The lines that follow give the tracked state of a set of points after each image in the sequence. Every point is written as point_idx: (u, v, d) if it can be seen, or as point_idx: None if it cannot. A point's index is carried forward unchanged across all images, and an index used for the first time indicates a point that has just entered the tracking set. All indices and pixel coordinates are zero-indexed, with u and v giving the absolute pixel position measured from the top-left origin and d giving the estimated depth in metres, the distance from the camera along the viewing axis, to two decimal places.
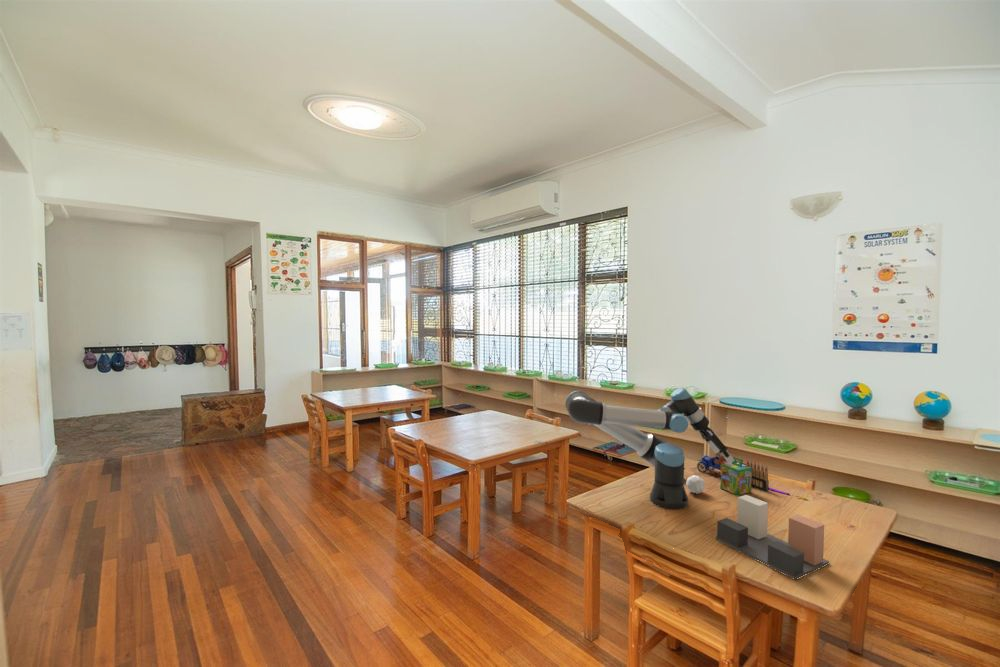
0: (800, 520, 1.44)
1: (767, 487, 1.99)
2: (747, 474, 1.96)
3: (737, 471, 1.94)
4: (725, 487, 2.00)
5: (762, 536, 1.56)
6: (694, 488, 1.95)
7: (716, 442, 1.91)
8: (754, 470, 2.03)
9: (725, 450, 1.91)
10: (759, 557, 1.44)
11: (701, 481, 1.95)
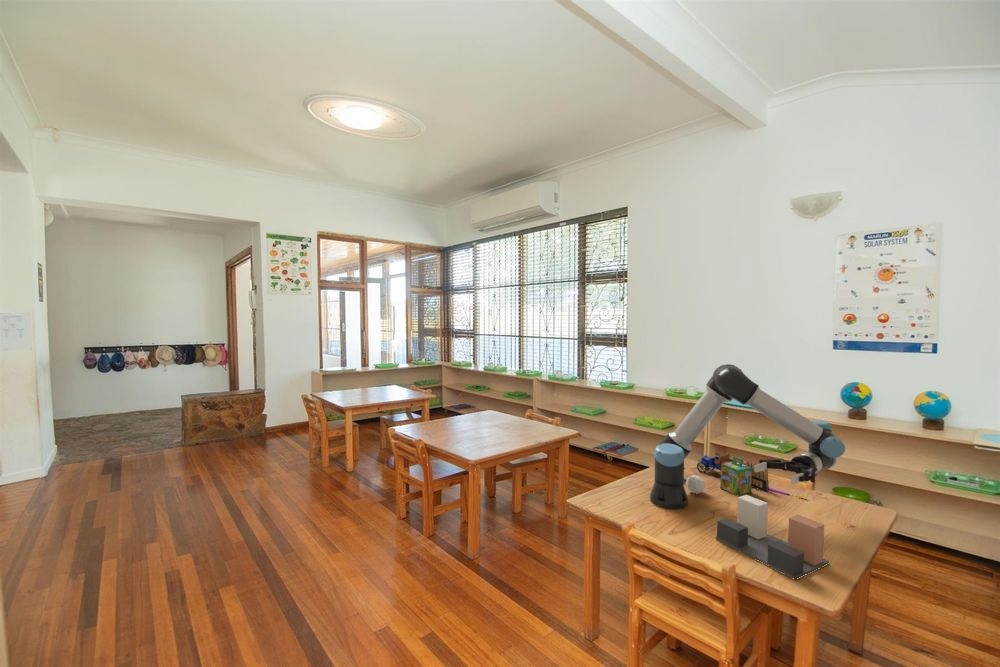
0: (800, 520, 1.44)
1: (767, 487, 1.99)
2: (747, 474, 1.96)
3: (737, 471, 1.94)
4: (725, 487, 2.00)
5: (762, 536, 1.56)
6: (694, 488, 1.95)
7: (815, 474, 1.62)
8: None
9: (807, 479, 1.60)
10: (759, 557, 1.44)
11: (701, 481, 1.95)
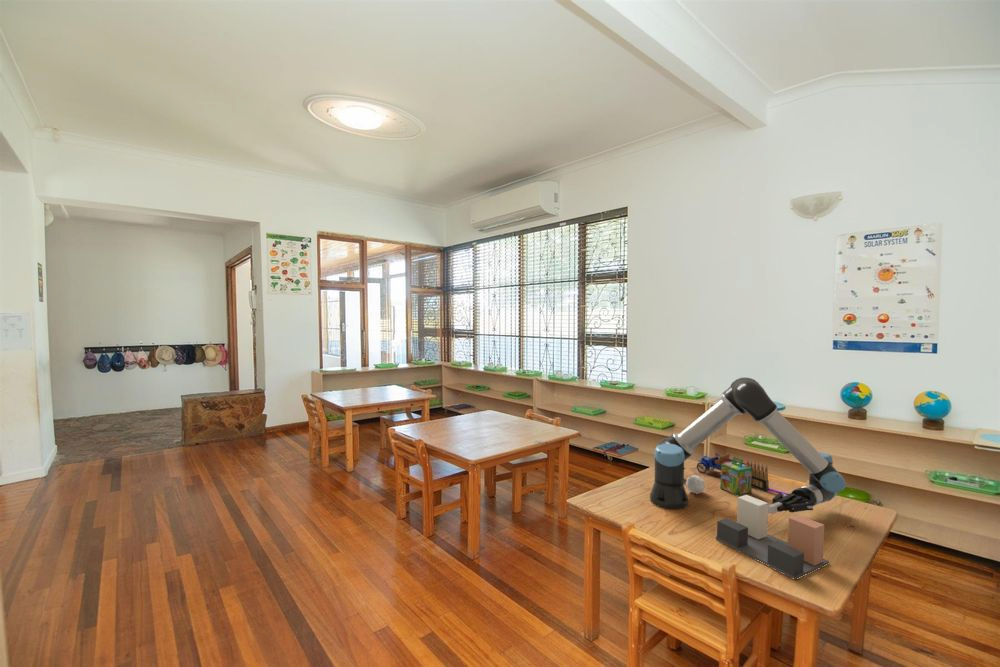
0: (800, 520, 1.44)
1: (767, 487, 1.99)
2: (747, 474, 1.96)
3: (737, 471, 1.94)
4: (725, 487, 2.00)
5: (762, 536, 1.56)
6: (694, 488, 1.95)
7: (800, 506, 1.65)
8: (754, 470, 2.03)
9: (785, 509, 1.65)
10: (759, 557, 1.44)
11: (701, 481, 1.95)
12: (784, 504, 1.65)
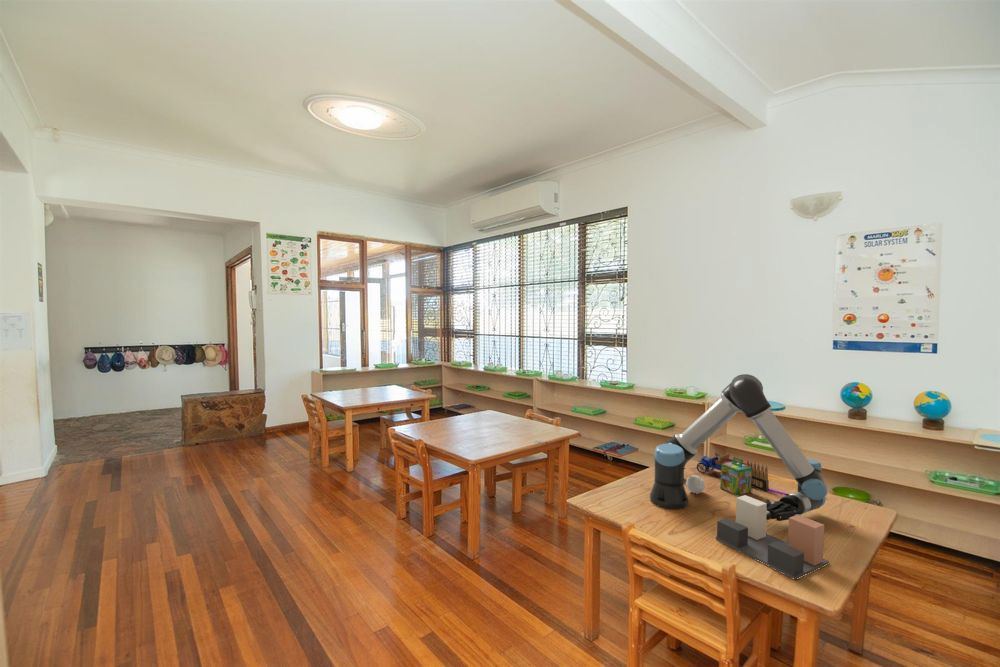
0: (800, 520, 1.44)
1: (767, 487, 1.99)
2: (747, 474, 1.96)
3: (737, 471, 1.94)
4: (725, 487, 2.00)
5: (761, 536, 1.56)
6: (694, 488, 1.95)
7: (788, 514, 1.61)
8: (754, 470, 2.03)
9: (772, 517, 1.61)
10: (759, 557, 1.44)
11: (701, 481, 1.95)
12: (771, 512, 1.62)
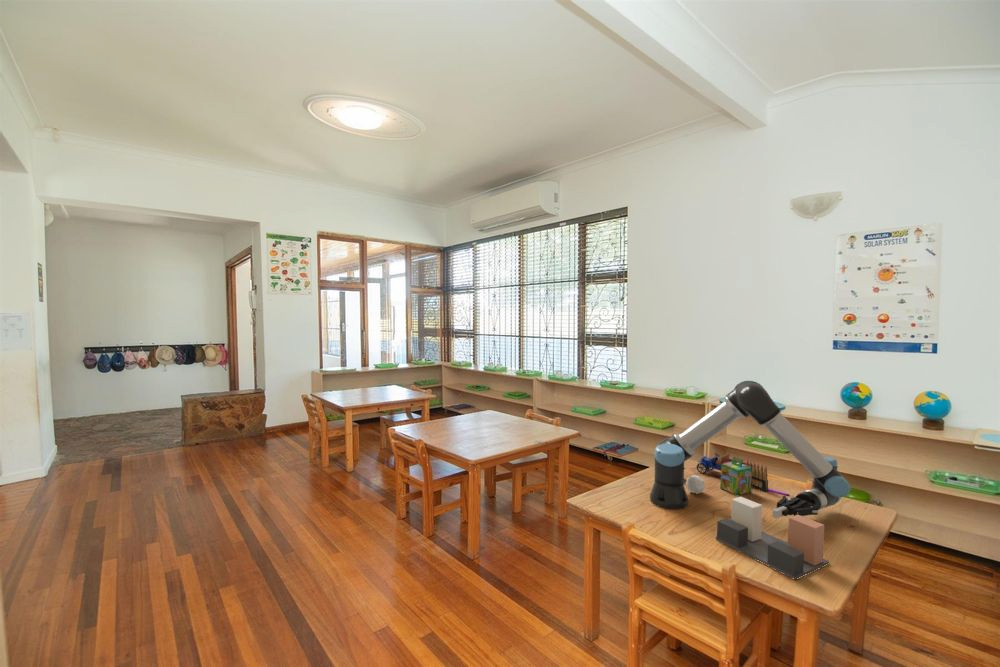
0: (800, 520, 1.44)
1: (766, 487, 1.99)
2: (747, 474, 1.96)
3: (737, 471, 1.94)
4: (725, 487, 2.00)
5: (756, 538, 1.54)
6: (694, 488, 1.95)
7: (805, 510, 1.64)
8: (754, 470, 2.03)
9: (790, 513, 1.64)
10: (759, 557, 1.44)
11: (701, 481, 1.95)
12: (789, 508, 1.64)
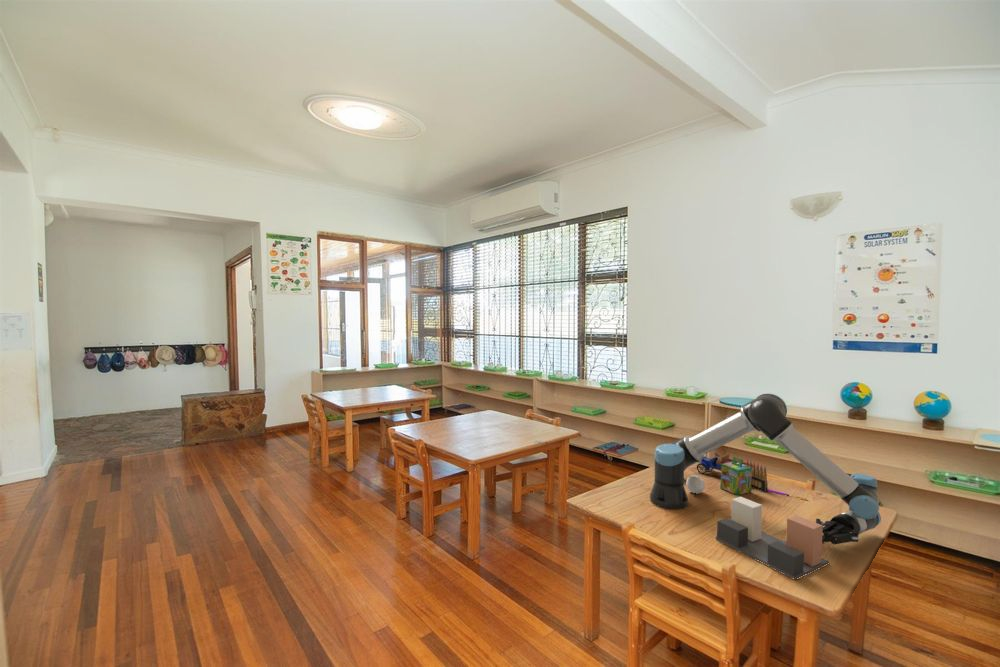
0: (798, 521, 1.43)
1: (766, 487, 1.98)
2: (747, 474, 1.96)
3: (737, 471, 1.94)
4: (725, 487, 2.00)
5: (756, 538, 1.54)
6: (694, 488, 1.95)
7: (844, 537, 1.45)
8: (753, 470, 2.03)
9: (827, 540, 1.45)
10: (759, 557, 1.44)
11: (701, 481, 1.95)
12: (826, 535, 1.46)
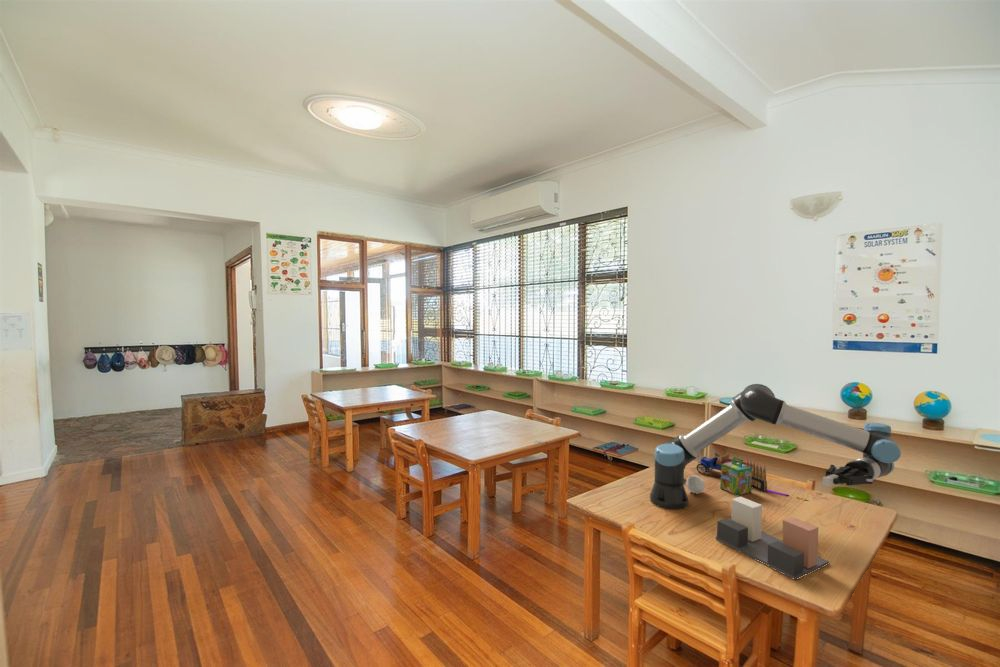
0: (794, 522, 1.42)
1: (765, 488, 1.98)
2: (747, 474, 1.96)
3: (737, 471, 1.94)
4: (725, 487, 2.00)
5: (756, 538, 1.54)
6: (694, 488, 1.95)
7: (859, 479, 1.48)
8: (753, 470, 2.03)
9: (842, 482, 1.48)
10: (759, 557, 1.44)
11: (701, 481, 1.95)
12: (841, 476, 1.49)
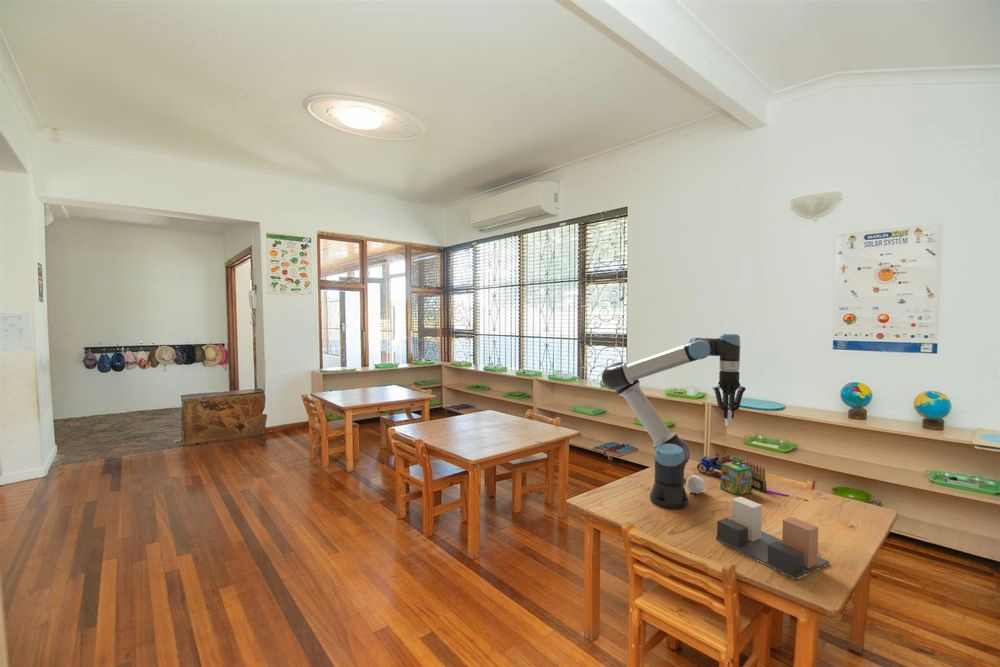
0: (794, 522, 1.42)
1: (764, 488, 1.98)
2: (747, 474, 1.96)
3: (737, 471, 1.94)
4: (725, 487, 2.00)
5: (756, 538, 1.54)
6: (694, 488, 1.95)
7: (717, 398, 1.88)
8: (753, 471, 2.03)
9: (724, 410, 1.87)
10: (759, 557, 1.44)
11: (701, 481, 1.95)
12: None
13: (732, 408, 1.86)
